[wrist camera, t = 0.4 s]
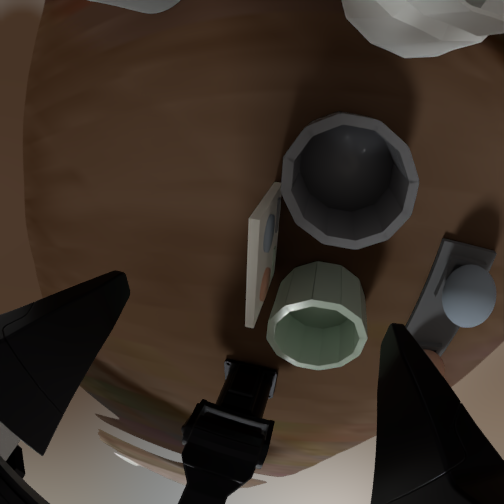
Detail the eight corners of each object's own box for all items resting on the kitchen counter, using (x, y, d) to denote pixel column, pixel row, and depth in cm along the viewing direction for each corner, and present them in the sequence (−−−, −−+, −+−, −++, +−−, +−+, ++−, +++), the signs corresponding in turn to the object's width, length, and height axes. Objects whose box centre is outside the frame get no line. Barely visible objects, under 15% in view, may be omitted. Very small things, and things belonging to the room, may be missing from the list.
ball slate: (469, 303, 20) (485, 342, 16) (427, 297, 21) (440, 338, 17) (491, 258, 17) (514, 293, 13) (447, 248, 19) (468, 284, 14)
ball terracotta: (427, 370, 25) (432, 406, 21) (389, 367, 26) (391, 405, 22) (447, 341, 23) (457, 379, 18) (407, 336, 24) (413, 377, 20)
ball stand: (428, 369, 26) (429, 376, 25) (383, 365, 27) (384, 373, 26) (494, 250, 18) (499, 257, 17) (442, 237, 19) (446, 244, 18)
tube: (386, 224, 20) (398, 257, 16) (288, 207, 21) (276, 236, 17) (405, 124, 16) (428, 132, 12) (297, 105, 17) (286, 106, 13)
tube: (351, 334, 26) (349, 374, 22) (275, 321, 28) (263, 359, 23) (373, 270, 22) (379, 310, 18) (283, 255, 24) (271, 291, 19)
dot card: (276, 272, 25) (256, 329, 19) (267, 270, 25) (244, 326, 19) (285, 183, 21) (263, 220, 15) (274, 181, 21) (248, 218, 15)
